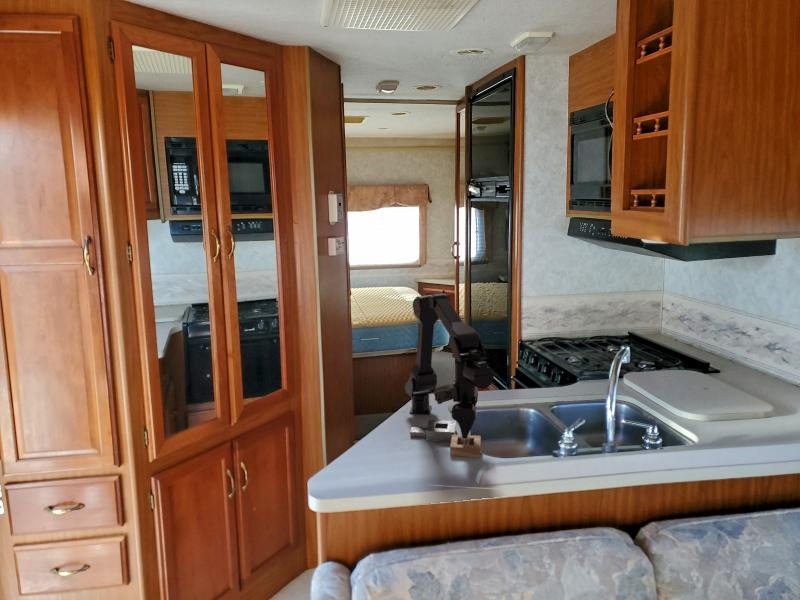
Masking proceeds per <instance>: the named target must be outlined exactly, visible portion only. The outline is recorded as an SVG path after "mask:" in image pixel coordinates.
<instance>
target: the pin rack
mask: <svg viewBox="0 0 800 600" xmlns="http://www.w3.org/2000/svg"><path fill="white" fill-rule="evenodd" d="M481 440H482V437H481V435H471V434H470V445H461V434H456V435H452V439H451V442H450V446H449V456H453V457H468V458H469V457H470V458H471V457H472V458H475V457H476V458H480V457H481V446H482V443H481V442H482V441H481Z"/></svg>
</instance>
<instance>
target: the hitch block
mask: <svg viewBox="0 0 800 600" xmlns="http://www.w3.org/2000/svg"><path fill="white" fill-rule="evenodd" d="M409 434H410V435H409V437H410V438H426V439H425V440H426V441H427V442H445V443H451V439H452V435H457V421H456V420H442V419H441V420H439V419H429V420H428V424H427V426H426V427H422V426H421V427H420V426H411V428H410V431H409Z"/></svg>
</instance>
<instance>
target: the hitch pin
mask: <svg viewBox="0 0 800 600" xmlns="http://www.w3.org/2000/svg"><path fill="white" fill-rule="evenodd" d="M460 435H461V445H470V435H471V431H470V432H469V434H468V436H467V438H463V437H462V433H461V432H460Z"/></svg>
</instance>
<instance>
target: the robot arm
mask: <svg viewBox="0 0 800 600" xmlns="http://www.w3.org/2000/svg"><path fill="white" fill-rule="evenodd" d="M412 309H413V315H414V317H415V319H416V320H417V323H418V327H417V345H416V357H415V358H416V360H415V364H414V366H413V367H412V368H411V370H410V372H409V373H410V375H409V378H408V380H407V382H406V383H405V385H404V389H405V393H406V394H407V395H409V397H411V407H410V410H409V414H411V415H430V414H431V411H432V405H430V394H433V396H434V400H435V401H436V403H437V405H441V404H443V403H445V402H449V401H451V400H452V401H453V403H455V404H454V405H453V406H452V409H451V419H453V421H456V422H458V425H459V429H460V434H461V433H462V437H463V438H467V436H468V434H469V432H470V433H471V429H472V428H473V425H474V423H475V421H476V419H477V407H476V406H477V403H478V398H479V389H482V390H484V389H487V388H489V387H490V386H491V385H492V383H494V382H493V381H494V378H495V374H494V371H493V370H492V369H491V368H490V367H489V366H488V362H487V361H484V360H485V359H487V354H486V353H487V352H486V348H485V346H484V344H483V342H482V339H481V336H480V335H479V332H477V330H475V329H474V328H473V327H472V326H470V325H468V324H466V323H465V322H464V321H463V320H462V319H461V317H460V315H459V314H458V313H457V311H456V310H455V309H456V308H454V306H453V305H452V304H451V302H450V299H449V296H448V294H446V293H435V294H430V295H429V294H428V295H419V296H416V297H415V298H414V299H413V301H412ZM438 320H440V322H441V324H442V325H443V327H444V328H445V330H446V331H447V333H448V335H449V338H448V343H449V347H450V349H451V352H452V355H451V356H452V358H454V379H453V383H449V384H444V385H441V386H439V387H437V383H438V378H437V377H438V376H437V373H436V372H435V370H434V368H433V367H432V361H433V346H434V334H435V333H434V332H435V331H434V330H435V324H436V322H437V321H438Z"/></svg>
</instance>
